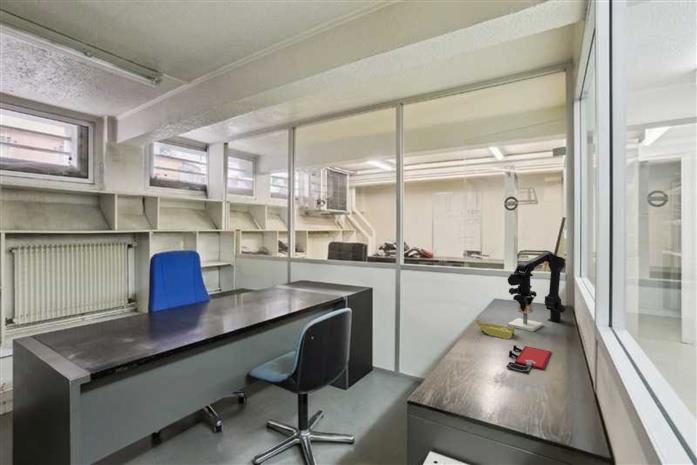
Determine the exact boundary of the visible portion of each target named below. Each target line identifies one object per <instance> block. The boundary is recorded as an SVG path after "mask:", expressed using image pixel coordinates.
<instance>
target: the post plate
mask: <svg viewBox="0 0 697 465" xmlns="http://www.w3.org/2000/svg"><path fill="white" fill-rule="evenodd" d="M543 325H544V323H543V322H539V321H535V320H530V319H528V314H526V313H522V318H520V317H518V318H516V319H514V320H511V321H510V322H508V323H507V327H509V328H512V327H514V328H516V329H519V330H523V331H527V332H535V331H537V330H538V329H539V328H541V327H543Z"/></svg>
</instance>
